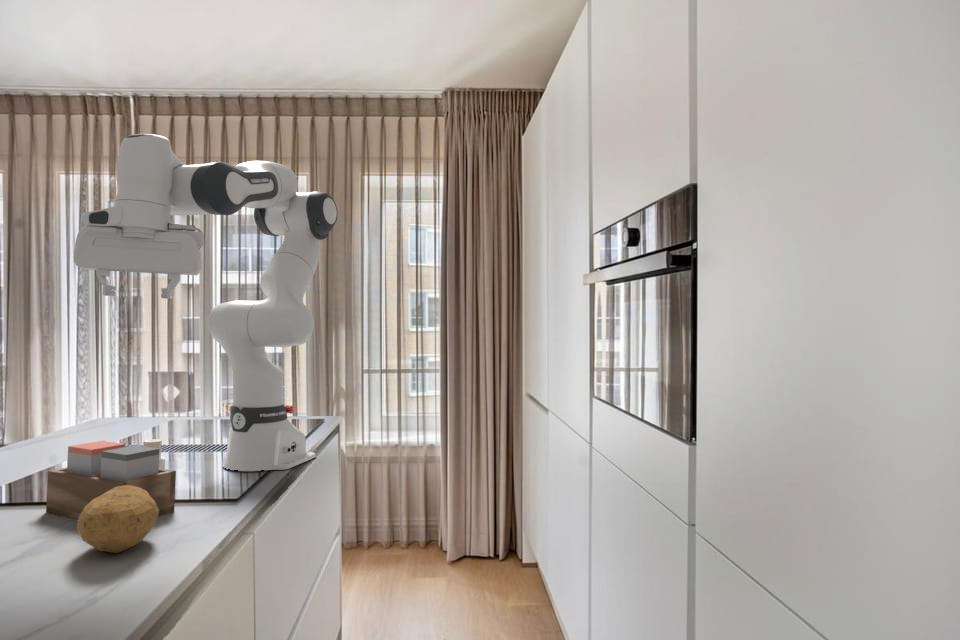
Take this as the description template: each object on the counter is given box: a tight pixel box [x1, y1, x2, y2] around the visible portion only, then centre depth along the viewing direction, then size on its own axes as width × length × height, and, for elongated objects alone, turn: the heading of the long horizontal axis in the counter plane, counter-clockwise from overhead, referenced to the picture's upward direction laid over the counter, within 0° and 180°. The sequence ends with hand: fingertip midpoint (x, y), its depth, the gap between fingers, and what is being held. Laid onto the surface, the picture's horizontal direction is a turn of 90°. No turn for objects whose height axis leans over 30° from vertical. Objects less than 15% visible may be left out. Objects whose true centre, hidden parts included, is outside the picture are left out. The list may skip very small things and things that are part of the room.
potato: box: [76, 485, 159, 554], centre depth 82 cm, size 10×14×8 cm
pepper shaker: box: [142, 438, 166, 469], centre depth 113 cm, size 4×4×10 cm
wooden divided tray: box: [45, 466, 177, 520], centre depth 98 cm, size 10×18×7 cm, turn 68°
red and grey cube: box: [66, 440, 126, 475], centre depth 100 cm, size 6×6×6 cm
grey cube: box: [100, 445, 159, 482], centre depth 97 cm, size 6×6×6 cm
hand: (138, 297), depth 104 cm, fingers open, 8 cm apart
